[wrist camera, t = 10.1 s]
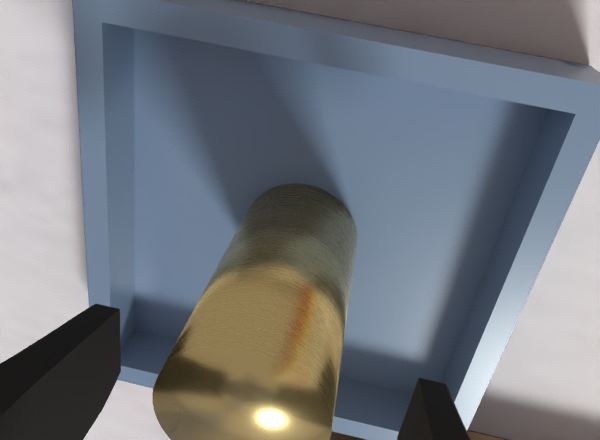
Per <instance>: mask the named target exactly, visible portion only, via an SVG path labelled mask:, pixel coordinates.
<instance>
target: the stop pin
mask: <svg viewBox="0 0 600 440" xmlns="http://www.w3.org/2000/svg"><path fill="white" fill-rule="evenodd" d="M356 247H357V230H356V226H355V223H354V220H353V218H352V216H351V214H350V212H349V211H348V209H347V208H346V207H345V206H344V204H343V203H342V202H341V201H340V200H339V199H337V198H336V197H335V196H333V195H332V194H330V193H329V192H327V191H325V190H323V189H321V188H318V187H315V186H312V185H307V184H298V183H292V184H284V185H279V186H276V187H273V188H271V189H269V190H267V191H265V192H264V193H262V194H261V195H260V196H258V197H257V198H256V199H255V200H254V202H253V203H252V204H251V206H250V207H249V209H248V211H247V213H246V214H245V216H244V218H243V220H242V222H241V224H240V225H239V227H238V229H237V231H236V233H235V235H234V237H233V238H232V240H231V242H230V244H229V246H228V248H227V250H226V251H225V253H224V255H223V257H222V259H221V261H220V262H219V264H218V266H217V268H216V270H215V272H214V274H213V275H212V277H211V279H210V281H209V283H208V285H207V286H206V288H205V290H204V292H203V294H202V296H201V298H200V299H199V301H198V303H197V305H196V307H195V309H194V310H193V312H192V314H191V316H190V318H189V320H188V322H187V323H186V325H185V327H184V329H183V331H182V333H181V334H180V336H179V338H178V340H177V342H176V344H175V346H174V347H173V349H172V351H171V353H170V355H169V357H168V358H167V360H166V362H165V364H164V366H163V368H162V370H161V371H160V373H159V375H158V377H157V379H156V382H155V384H154V389H153V406H154V411H155V414H156V417H157V419H158V421H159V423H160V425H161V427H162V428H163V430H164V431H165V433H166V434H167V435H168V437H169V438H170V439H171V440H330V437H331V432H332V425H333V418H334V410H335V403H336V395H337V388H338V381H339V373H340V366H341V358H342V351H343V343H344V336H345V329H346V321H347V314H348V306H349V299H350V292H351V284H352V277H353V269H354V262H355V254H356Z"/></svg>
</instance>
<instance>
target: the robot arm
mask: <svg viewBox="0 0 600 440" xmlns="http://www.w3.org/2000/svg"><path fill="white" fill-rule="evenodd" d="M120 372H121V345H120V309H118V308H113V307H109V306H105V305H100V304H94V305H93V306H91V307H89V308H88V309H86V310H85V311H83V312H81V313H80V314H78V315H77V316H75V317H74V318H72V319H71V320H69V321H68V322H66V323H65V324H63V325H62V326H60V327H58V328H57V329H55V330H54V331H52V332H51V333H49V334H48V335H46V336H45V337H43V338H41V339H40V340H38V341H37V342H35V343H33V344H32V345H30V346H29V347H27V348H26V349H24V350H22V351H21V352H19V353H18V354H16V355H14V356H13V357H11V358H9V359H8V360H6V361H4V362H2V363H1V364H0V440H83V439H84V437H85V436H86V434H87V433H88V431H89V429H90V428H91V426H92V425H93V423H94V422H95V420H96V419H97V417H98V415H99V414H100V412H101V411H102V409H103V407H104V405H105V403H106V401H107V399H108V397H109V395H110V393H111V391H112V389H113V387H114V385H115V383H116V381H117V379H118V376H119V374H120ZM397 440H471V439H470V437H469V435H468V433H467V430H466V428H465V426H464V424H463V422H462V419H461V417H460V415H459V413H458V410H457V408H456V406H455V403H454V401H453V399H452V396H451V394H450V391H449V389H448V387H447V386H446V384H444V383H440V382H436V381H431V380H427V379H423V378H418V381H417V384H416V387H415V389H414V392H413V395H412V398H411V401H410V403H409V406H408V409H407V412H406V414H405V417H404V420H403V423H402V425H401V428H400V431H399V434H398V437H397Z"/></svg>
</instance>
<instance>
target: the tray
mask: <svg viewBox="0 0 600 440" xmlns="http://www.w3.org/2000/svg"><path fill="white" fill-rule="evenodd" d="M72 3H73V22H74V40H75V58H76V77H77V95H78V113H79V132H80V150H81V168H82V187H83V205H84V223H85V242H86V260H87V278H88V297H89V307H91V306H93V305H94V304H100V305H105V306H109V307H113V308H118V309H120V345H121V372H120V374H119V376H118V379H117V380H121V381H125V382H129V383H133V384H137V385H142V386H146V387H150V388H154V384H155V382H156V379H157V377H158V375H159V373H160V371H161V370H162V368H163V366H164V364H165V362H166V360H167V358H168V357H169V355H170V353H171V351H172V349H173V347H174V346H175V344H176V342H177V340H178V338H179V336H180V334H181V333H182V331H183V329H184V327H185V325H186V323H187V322H188V320H189V318H190V316H191V314H192V312H193V310H194V309H195V307H196V305H197V303H198V301H199V299H200V298H201V296H202V294H203V292H204V290H205V288H206V286H207V285H208V283H209V281H210V279H211V277H212V275H213V274H214V272H215V270H216V268H217V266H218V264H219V262H220V261H221V259H222V257H223V255H224V253H225V251H226V250H227V248H228V246H229V244H230V242H231V240H232V238H233V237H234V235H235V233H236V231H237V229H238V227H239V225H240V224H241V222H242V220H243V218H244V216H245V214H246V213H247V211H248V209H249V207H250V206H251V204H252V203H253V202H254V200H255V199H256V198H257V197H258V196H260V195H261V194H262V193H264V192H265V191H267V190H269V189H271V188H273V187H276V186H279V185H284V184H292V183H298V184H307V185H312V186H315V187H318V188H321V189H323V190H325V191H327V192H329V193H330V194H332V195H333V196H335V197H336V198H337V199H339V200H340V201H341V202H342V203H343V204H344V206H345V207H346V208H347V209H348V211H349V212H350V214H351V216H352V218H353V220H354V223H355V226H356V230H357V247H356V254H355V262H354V269H353V277H352V284H351V292H350V299H349V306H348V314H347V321H346V329H345V336H344V343H343V351H342V358H341V366H340V373H339V381H338V388H337V395H336V403H335V410H334V418H333V425H332V431H333V432H337V433H341V434H345V435H350V436H354V437H358V438H362V439H366V440H397V437H398V434H399V431H400V428H401V425H402V423H403V420H404V417H405V414H406V412H407V409H408V406H409V403H410V401H411V398H412V395H413V392H414V389H415V387H416V384H417V381H418V378H423V379H427V380H431V381H436V382H440V383H444V384H446V386H447V387H448V389H449V391H450V394H451V396H452V399H453V401H454V403H455V406H456V408H457V410H458V413H459V415H460V417H461V419H462V422H463V424H464V426H465V428H466V430H468V428H469V425H470V423H471V421H472V419H473V417H474V414H475V412H476V410H477V408H478V406H479V403H480V401H481V399H482V397H483V395H484V392H485V390H486V388H487V386H488V384H489V381H490V379H491V377H492V375H493V373H494V370H495V368H496V366H497V364H498V362H499V359H500V357H501V355H502V353H503V351H504V349H505V346H506V344H507V342H508V340H509V338H510V335H511V333H512V331H513V329H514V327H515V324H516V322H517V320H518V318H519V316H520V313H521V311H522V309H523V307H524V305H525V302H526V300H527V298H528V296H529V294H530V291H531V289H532V287H533V285H534V283H535V280H536V278H537V276H538V274H539V272H540V269H541V267H542V265H543V263H544V261H545V258H546V256H547V254H548V252H549V250H550V247H551V245H552V243H553V241H554V239H555V236H556V234H557V232H558V230H559V228H560V225H561V223H562V221H563V219H564V217H565V214H566V212H567V210H568V208H569V206H570V203H571V201H572V199H573V197H574V195H575V192H576V190H577V188H578V186H579V184H580V182H581V179H582V177H583V175H584V173H585V171H586V168H587V166H588V164H589V162H590V160H591V157H592V155H593V153H594V151H595V149H596V146H597V144H598V142H599V140H600V72H598V71H597V70H595V69H594V68H593V67H591V66H588V65H582V64H577V63H572V62H566V61H561V60H556V59H550V58H545V57H540V56H534V55H529V54H524V53H518V52H513V51H508V50H502V49H497V48H492V47H486V46H481V45H476V44H470V43H465V42H460V41H455V40H449V39H444V38H439V37H433V36H428V35H423V34H417V33H412V32H407V31H401V30H396V29H391V28H385V27H380V26H375V25H369V24H364V23H359V22H353V21H348V20H343V19H337V18H332V17H327V16H321V15H316V14H311V13H305V12H300V11H295V10H289V9H284V8H279V7H273V6H268V5H263V4H257V3H252V2H247V1H241V0H72Z"/></svg>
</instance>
